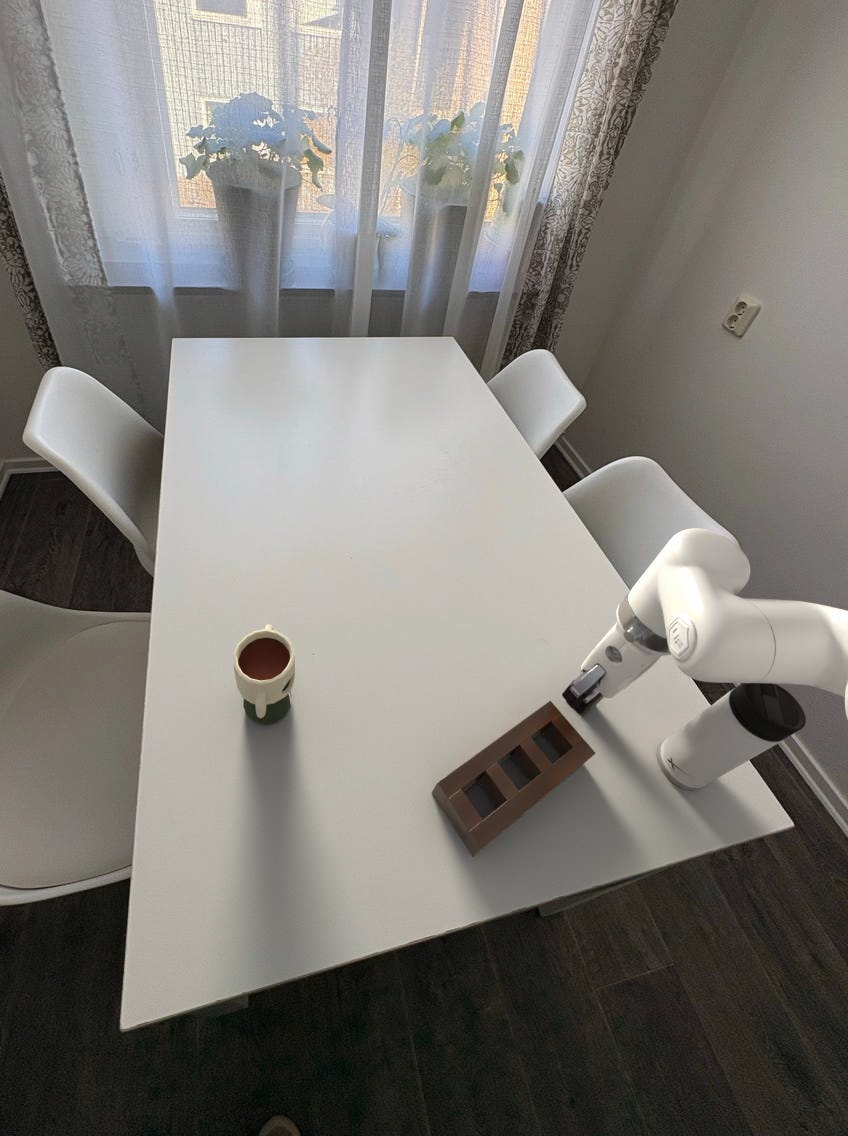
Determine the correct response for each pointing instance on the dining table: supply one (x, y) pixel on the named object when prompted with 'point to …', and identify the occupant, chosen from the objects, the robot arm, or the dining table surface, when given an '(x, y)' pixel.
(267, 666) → the character mug
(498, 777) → the holder
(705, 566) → the robot arm
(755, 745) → the travel mug
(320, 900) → the dining table surface
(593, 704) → the peg
